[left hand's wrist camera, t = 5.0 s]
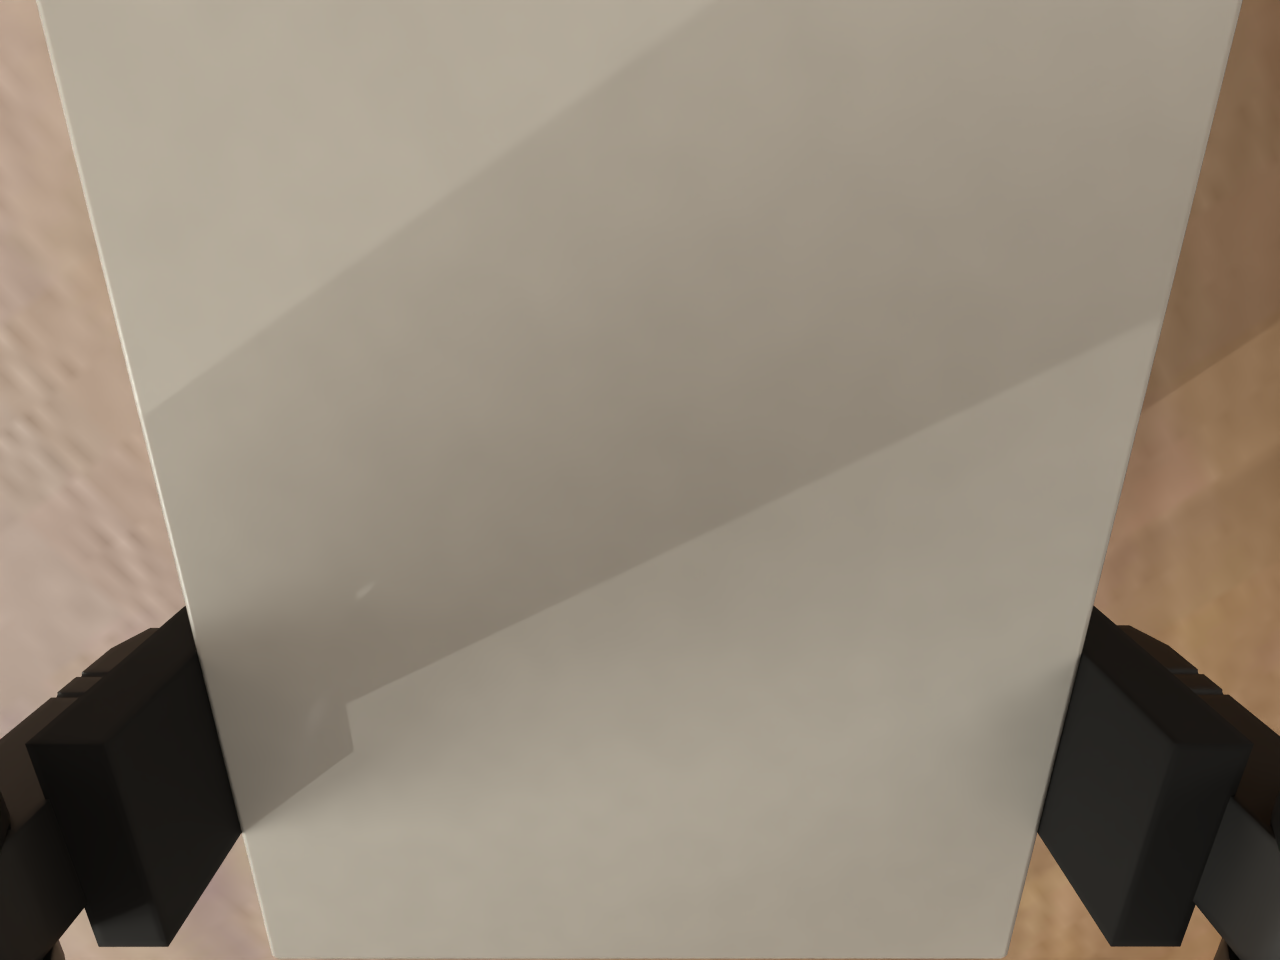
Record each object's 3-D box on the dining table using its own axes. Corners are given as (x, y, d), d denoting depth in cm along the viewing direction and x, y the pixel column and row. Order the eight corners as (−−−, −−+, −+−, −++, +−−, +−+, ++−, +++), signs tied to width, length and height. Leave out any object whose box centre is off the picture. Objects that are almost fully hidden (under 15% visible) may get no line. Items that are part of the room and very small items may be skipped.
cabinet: (352, -192, 13) (-225, -1012, 4) (925, -192, 13) (1498, -1009, 4) (441, 617, 19) (270, 961, 10) (837, 617, 19) (1009, 961, 10)
